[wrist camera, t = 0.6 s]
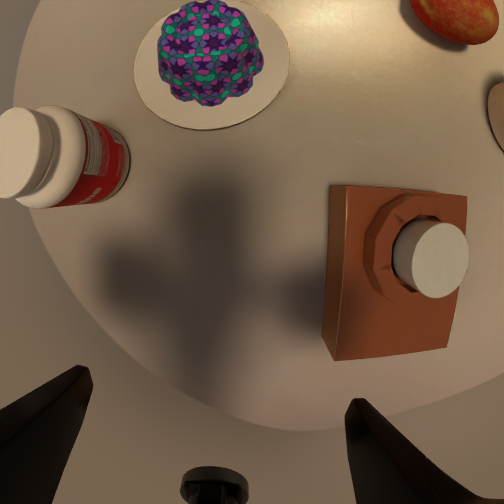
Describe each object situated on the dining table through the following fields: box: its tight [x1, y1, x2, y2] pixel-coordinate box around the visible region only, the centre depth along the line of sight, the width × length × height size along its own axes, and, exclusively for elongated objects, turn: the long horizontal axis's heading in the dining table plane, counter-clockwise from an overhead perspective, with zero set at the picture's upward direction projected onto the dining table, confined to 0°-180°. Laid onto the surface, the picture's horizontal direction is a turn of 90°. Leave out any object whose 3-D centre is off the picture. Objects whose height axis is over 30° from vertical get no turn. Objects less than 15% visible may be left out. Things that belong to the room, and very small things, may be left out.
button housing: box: [322, 185, 467, 361], centre depth 21 cm, size 12×10×6 cm
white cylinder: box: [393, 219, 469, 298], centre depth 17 cm, size 4×4×3 cm
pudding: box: [134, 0, 290, 129], centre depth 18 cm, size 12×12×5 cm
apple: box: [410, 0, 499, 45], centre depth 16 cm, size 8×8×8 cm
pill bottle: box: [0, 105, 129, 209], centre depth 16 cm, size 6×6×11 cm
